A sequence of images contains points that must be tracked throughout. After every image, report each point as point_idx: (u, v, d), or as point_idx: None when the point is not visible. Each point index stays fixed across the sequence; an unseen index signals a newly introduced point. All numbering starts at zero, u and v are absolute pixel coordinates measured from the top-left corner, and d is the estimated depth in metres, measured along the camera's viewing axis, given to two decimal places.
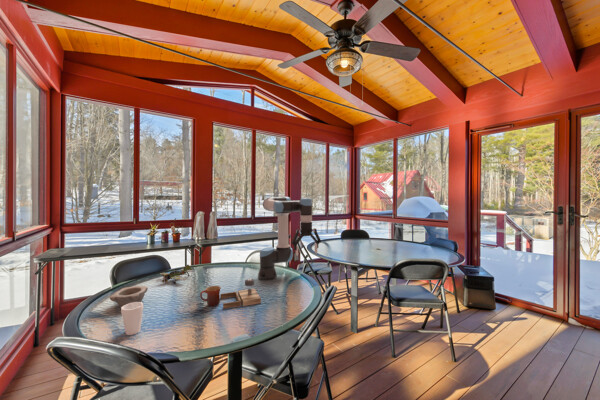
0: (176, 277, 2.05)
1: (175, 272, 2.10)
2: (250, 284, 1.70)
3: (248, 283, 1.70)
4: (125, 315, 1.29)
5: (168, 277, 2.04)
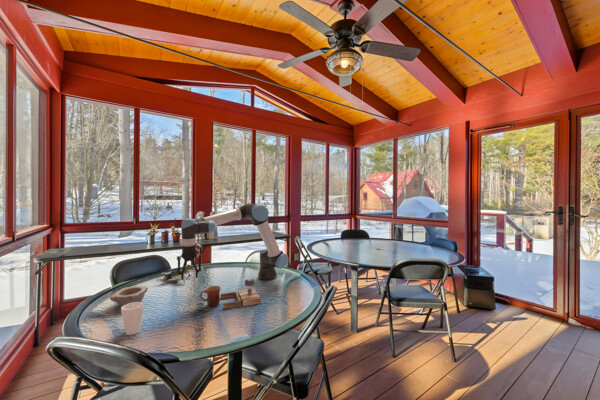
0: (177, 277, 2.06)
1: (176, 272, 2.10)
2: (250, 284, 1.70)
3: (248, 283, 1.70)
4: (125, 315, 1.29)
5: (169, 277, 2.05)
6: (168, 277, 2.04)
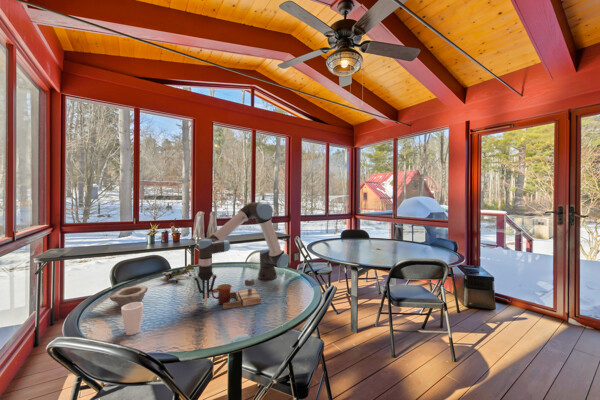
0: (178, 276, 2.07)
1: (177, 271, 2.11)
2: (250, 284, 1.70)
3: (248, 283, 1.70)
4: (125, 315, 1.29)
5: (170, 276, 2.05)
6: (169, 277, 2.05)
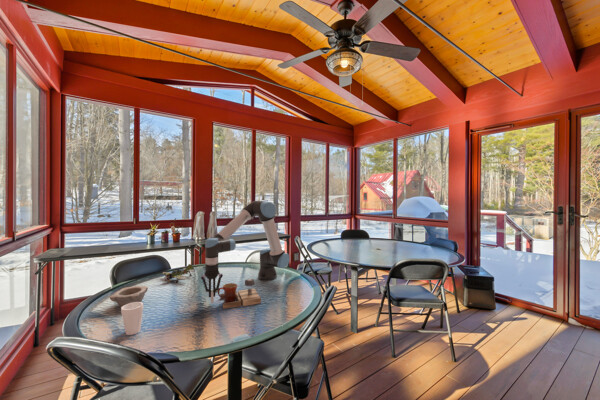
0: (178, 276, 2.07)
1: (177, 271, 2.11)
2: (250, 284, 1.70)
3: (248, 283, 1.70)
4: (125, 315, 1.29)
5: (170, 276, 2.06)
6: (169, 277, 2.05)
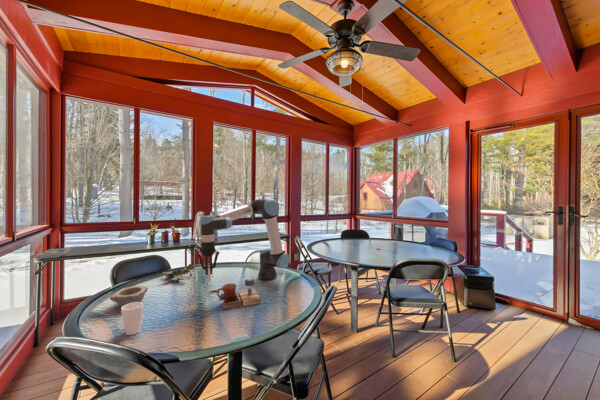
0: (179, 276, 2.07)
1: (178, 271, 2.12)
2: (250, 284, 1.70)
3: (248, 283, 1.70)
4: (125, 315, 1.29)
5: (171, 276, 2.06)
6: (170, 276, 2.05)
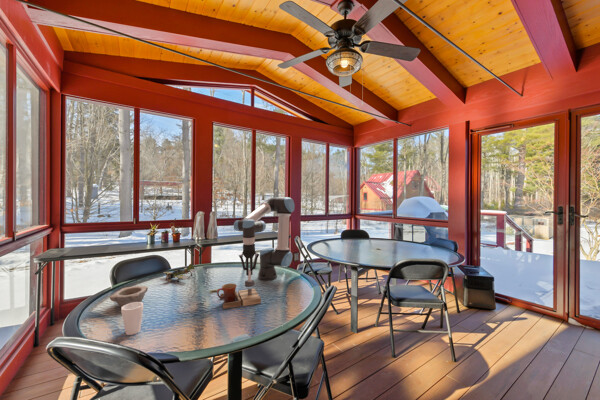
0: (179, 276, 2.08)
1: (178, 271, 2.12)
2: (250, 285, 1.70)
3: (248, 284, 1.70)
4: (125, 315, 1.29)
5: (171, 276, 2.07)
6: (170, 276, 2.06)
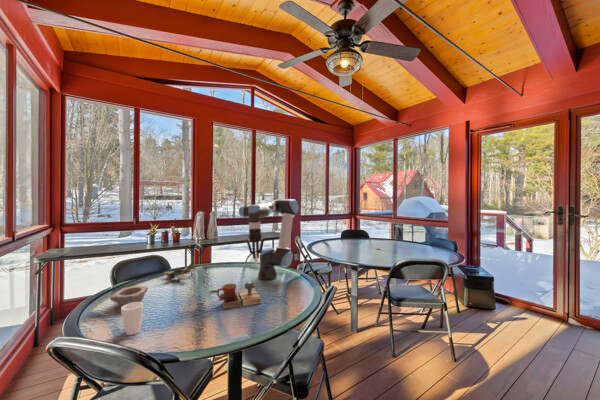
0: (180, 276, 2.08)
1: (179, 271, 2.12)
2: (250, 287, 1.70)
3: (248, 286, 1.70)
4: (125, 315, 1.29)
5: (172, 276, 2.07)
6: (171, 276, 2.06)
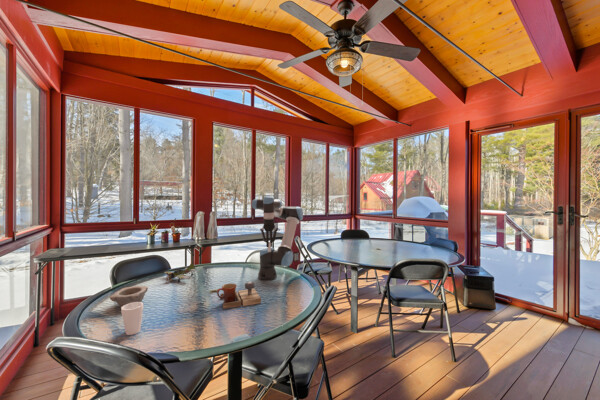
0: (180, 276, 2.08)
1: (179, 271, 2.13)
2: (250, 287, 1.70)
3: (248, 286, 1.70)
4: (125, 315, 1.29)
5: (172, 276, 2.07)
6: (171, 276, 2.07)
